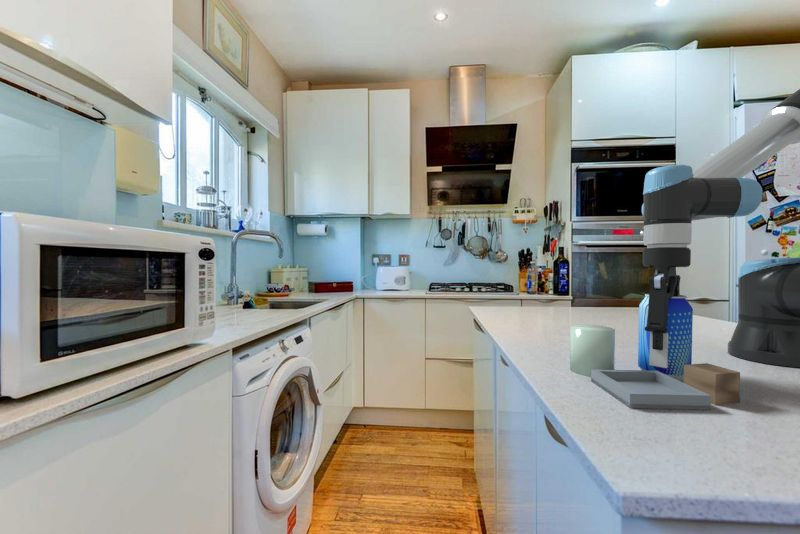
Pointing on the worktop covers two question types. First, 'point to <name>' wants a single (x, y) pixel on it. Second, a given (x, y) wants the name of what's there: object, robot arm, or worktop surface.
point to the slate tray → (650, 390)
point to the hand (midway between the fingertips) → (663, 361)
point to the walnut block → (714, 382)
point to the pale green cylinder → (591, 348)
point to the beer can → (669, 337)
